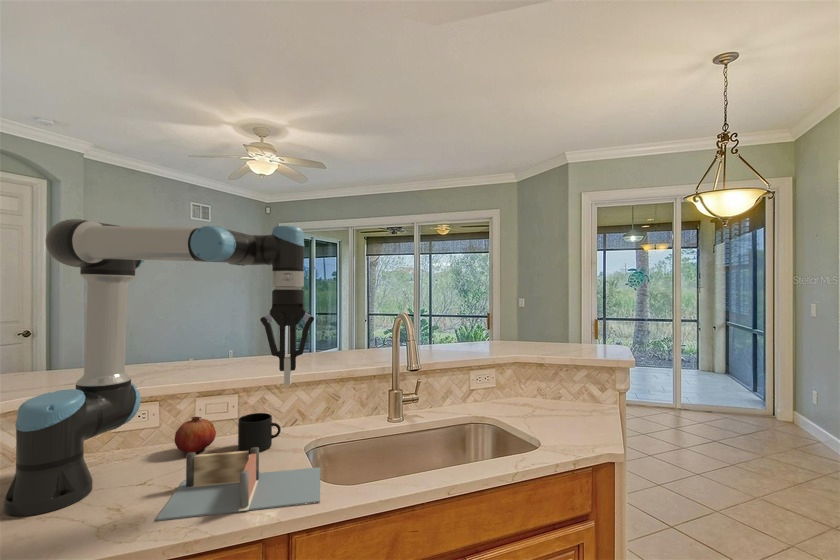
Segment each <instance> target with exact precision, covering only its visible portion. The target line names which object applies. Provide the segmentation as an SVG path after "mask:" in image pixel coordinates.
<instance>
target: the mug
mask: <svg viewBox="0 0 840 560" xmlns="http://www.w3.org/2000/svg"><path fill="white" fill-rule="evenodd" d="M237 424H238V425H237V428H238V429H237V431H238V432H237V433H238V434H237V436H238V437H237V451H249V454H250V449H251V448H253V447H259V453H261V452H264V451H267V450H269V449H270V448H271V447H272V444H273V441H272V440H273V439H275V438H277V437H279V435H280V434H281V429H282V428H281V425H279V423H276V422H273V415H271V414H270V413H265V412H255V413H254V412H253V413H249V414H245V415H242V416H241V417H239V418H238V423H237ZM273 427H276V429H277V432H276V433H275V434H273V433H272V432H273Z"/></svg>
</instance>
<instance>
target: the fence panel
mask: <svg viewBox="0 0 840 560" xmlns="http://www.w3.org/2000/svg"><path fill="white" fill-rule="evenodd" d="M249 455H250V454H249ZM255 482H256V454H251V455H250V456H249V460H248V462H247V464H246V466H245V469H244V471H242V472H240V507H241V508H245V507H247V506H248V505H249V499H250V496H251V493H252V490H253V488H254V485H255Z"/></svg>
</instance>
